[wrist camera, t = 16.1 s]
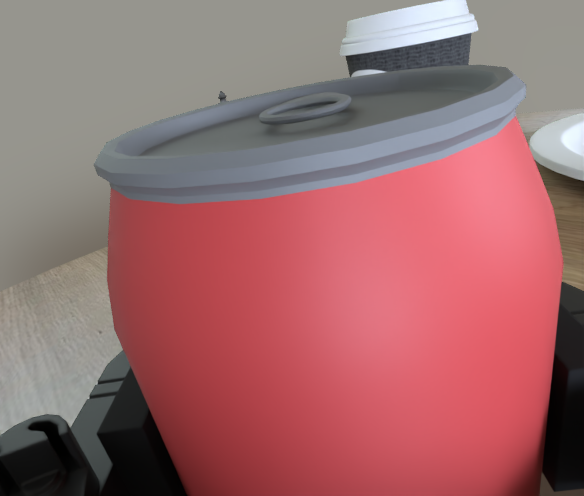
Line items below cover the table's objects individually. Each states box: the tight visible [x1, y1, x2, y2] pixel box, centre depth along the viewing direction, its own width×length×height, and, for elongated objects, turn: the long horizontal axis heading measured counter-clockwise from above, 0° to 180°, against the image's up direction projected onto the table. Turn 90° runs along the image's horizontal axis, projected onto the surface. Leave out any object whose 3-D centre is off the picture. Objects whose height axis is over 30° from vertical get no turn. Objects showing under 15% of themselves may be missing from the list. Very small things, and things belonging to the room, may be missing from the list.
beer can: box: [94, 65, 563, 496], centre depth 8 cm, size 7×7×12 cm
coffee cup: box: [340, 0, 478, 77], centre depth 33 cm, size 10×10×15 cm
